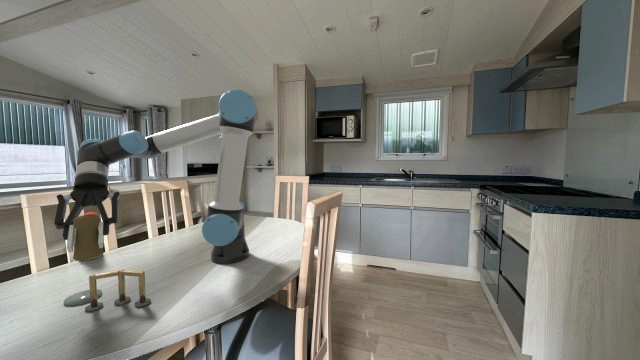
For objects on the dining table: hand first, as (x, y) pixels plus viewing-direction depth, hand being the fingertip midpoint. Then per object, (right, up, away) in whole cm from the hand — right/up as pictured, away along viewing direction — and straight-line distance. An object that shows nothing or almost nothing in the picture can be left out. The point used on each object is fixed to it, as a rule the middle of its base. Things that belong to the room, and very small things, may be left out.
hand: (85, 247), depth 63 cm
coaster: (-8, -17, +8) cm, 20 cm away
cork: (-2, -3, +3) cm, 5 cm away
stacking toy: (-35, -15, +38) cm, 54 cm away
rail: (+5, -17, +4) cm, 18 cm away
